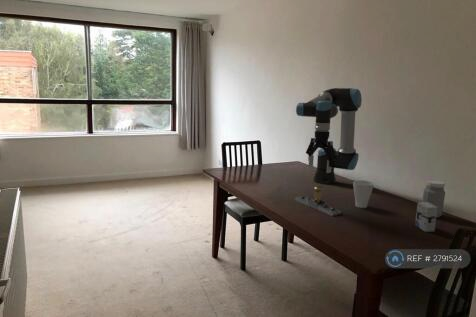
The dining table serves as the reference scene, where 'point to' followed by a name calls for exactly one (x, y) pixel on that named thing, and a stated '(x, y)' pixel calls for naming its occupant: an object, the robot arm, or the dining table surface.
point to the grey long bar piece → (321, 207)
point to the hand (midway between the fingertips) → (319, 169)
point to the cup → (362, 192)
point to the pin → (317, 194)
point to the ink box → (426, 216)
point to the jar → (435, 195)
